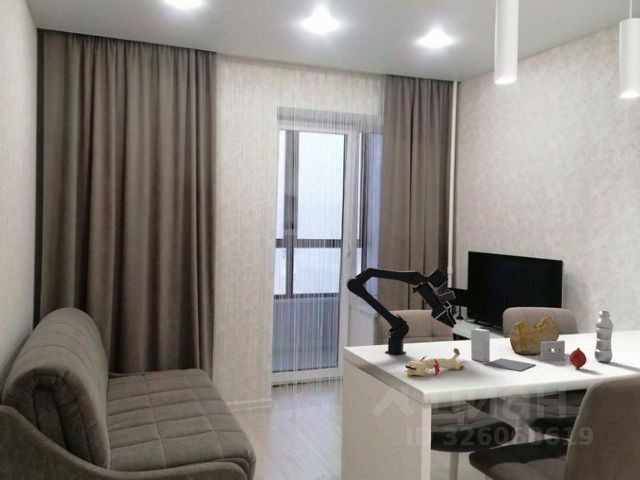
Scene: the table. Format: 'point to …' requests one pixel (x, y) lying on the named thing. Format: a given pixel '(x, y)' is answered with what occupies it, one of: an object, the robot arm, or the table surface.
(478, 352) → the skincare box
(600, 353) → the plastic bottle
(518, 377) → the table surface
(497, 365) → the felt mat
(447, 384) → the table surface
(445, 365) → the cat figure
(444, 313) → the robot arm
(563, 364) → the table surface
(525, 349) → the rough brown rock
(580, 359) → the onion
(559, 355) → the cassette
